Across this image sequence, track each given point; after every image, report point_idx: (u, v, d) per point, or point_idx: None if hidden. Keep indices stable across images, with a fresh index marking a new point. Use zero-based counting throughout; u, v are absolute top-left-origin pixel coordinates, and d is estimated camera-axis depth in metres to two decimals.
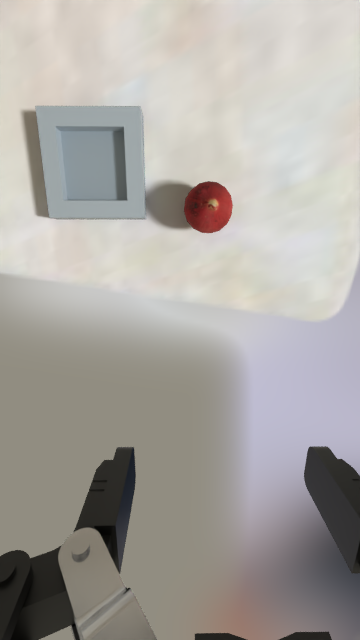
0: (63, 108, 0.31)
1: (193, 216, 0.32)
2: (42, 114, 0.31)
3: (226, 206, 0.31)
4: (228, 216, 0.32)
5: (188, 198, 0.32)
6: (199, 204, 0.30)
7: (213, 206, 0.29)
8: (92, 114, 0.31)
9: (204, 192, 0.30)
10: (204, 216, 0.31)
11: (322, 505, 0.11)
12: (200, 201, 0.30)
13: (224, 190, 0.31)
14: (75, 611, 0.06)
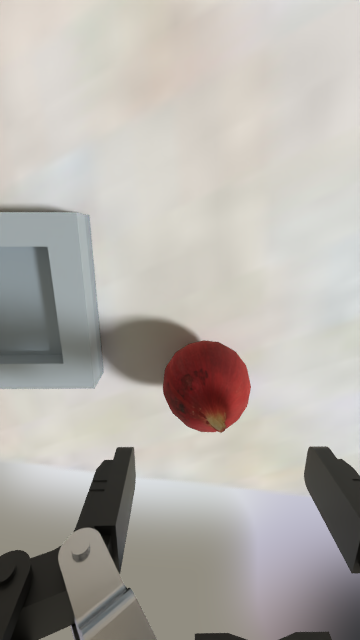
0: None
1: (178, 416, 0.17)
2: None
3: (240, 407, 0.16)
4: None
5: (169, 382, 0.17)
6: (187, 409, 0.16)
7: (215, 429, 0.15)
8: None
9: (198, 390, 0.15)
10: (198, 427, 0.16)
11: (322, 505, 0.11)
12: (190, 407, 0.15)
13: (236, 375, 0.16)
14: (75, 612, 0.06)
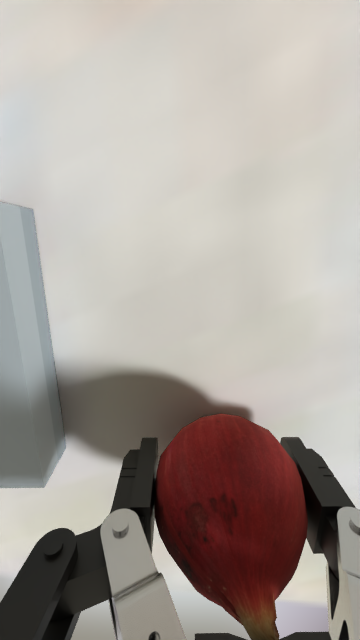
0: None
1: None
2: None
3: (296, 564, 0.09)
4: None
5: (163, 505, 0.09)
6: (199, 579, 0.08)
7: None
8: None
9: (219, 546, 0.08)
10: None
11: None
12: (204, 577, 0.08)
13: (289, 503, 0.09)
14: (111, 582, 0.07)
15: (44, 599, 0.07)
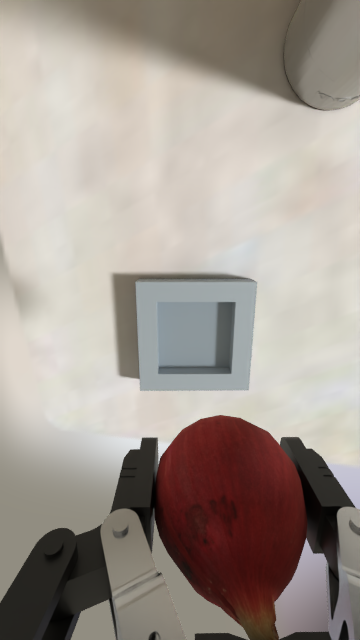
0: (167, 284, 0.27)
1: None
2: (142, 290, 0.27)
3: (296, 566, 0.09)
4: None
5: (163, 507, 0.09)
6: (199, 580, 0.08)
7: None
8: (200, 290, 0.27)
9: (219, 548, 0.08)
10: (218, 605, 0.09)
11: None
12: (203, 579, 0.08)
13: (289, 505, 0.09)
14: (112, 582, 0.07)
15: (44, 599, 0.07)
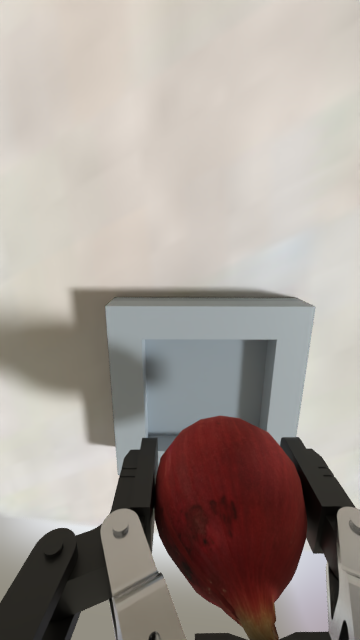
0: (160, 311, 0.15)
1: None
2: (118, 320, 0.16)
3: (296, 566, 0.09)
4: None
5: (163, 507, 0.09)
6: (198, 580, 0.08)
7: None
8: (218, 320, 0.16)
9: (218, 548, 0.08)
10: None
11: None
12: (203, 579, 0.08)
13: (289, 505, 0.09)
14: (112, 582, 0.07)
15: (44, 599, 0.07)
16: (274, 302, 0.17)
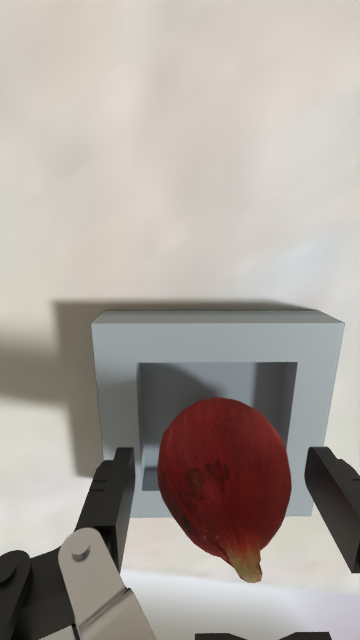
0: (158, 329, 0.13)
1: (180, 526, 0.11)
2: (107, 340, 0.13)
3: (280, 522, 0.10)
4: None
5: (166, 473, 0.11)
6: (196, 531, 0.09)
7: (244, 580, 0.08)
8: (227, 339, 0.13)
9: (213, 502, 0.09)
10: (213, 554, 0.10)
11: (322, 505, 0.11)
12: (200, 529, 0.09)
13: (274, 469, 0.10)
14: (75, 611, 0.06)
15: None
16: (294, 317, 0.14)
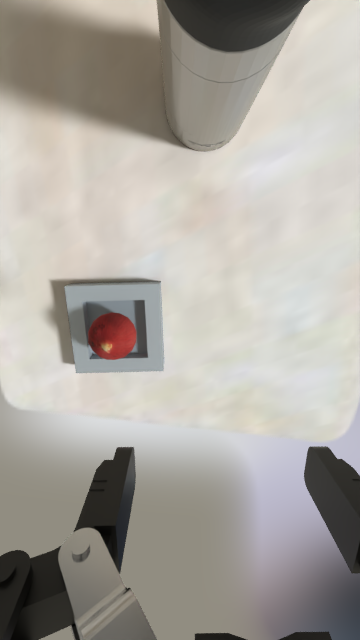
0: (89, 287, 0.34)
1: (93, 350, 0.32)
2: (70, 292, 0.34)
3: (123, 343, 0.31)
4: (129, 348, 0.32)
5: (88, 332, 0.32)
6: (94, 344, 0.31)
7: (105, 351, 0.30)
8: (116, 291, 0.34)
9: (98, 334, 0.31)
10: (101, 354, 0.31)
11: (322, 505, 0.11)
12: (95, 342, 0.31)
13: (121, 327, 0.31)
14: (75, 611, 0.06)
15: None
16: (144, 283, 0.35)
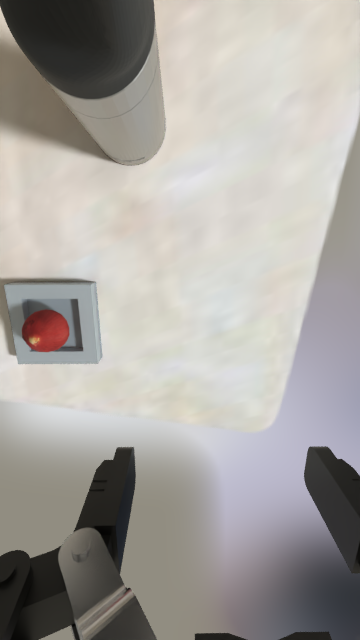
0: (27, 286, 0.38)
1: (26, 343, 0.36)
2: (10, 290, 0.38)
3: (51, 337, 0.35)
4: (59, 342, 0.36)
5: (22, 327, 0.36)
6: (25, 337, 0.34)
7: (32, 344, 0.33)
8: (51, 290, 0.38)
9: (28, 328, 0.34)
10: (31, 346, 0.35)
11: (322, 505, 0.11)
12: (25, 336, 0.34)
13: (50, 323, 0.35)
14: (75, 612, 0.06)
15: None
16: (79, 283, 0.39)
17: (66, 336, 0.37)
